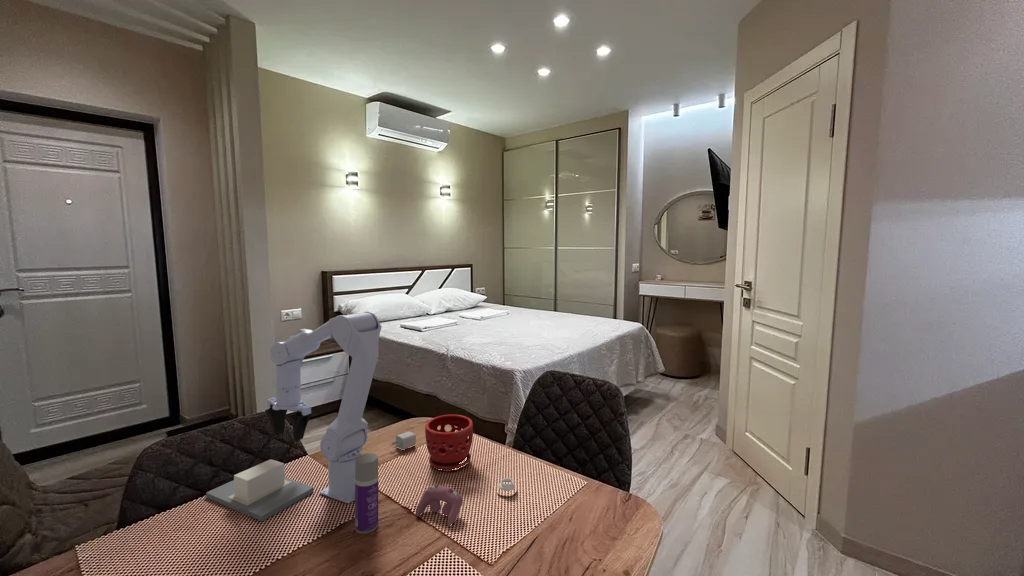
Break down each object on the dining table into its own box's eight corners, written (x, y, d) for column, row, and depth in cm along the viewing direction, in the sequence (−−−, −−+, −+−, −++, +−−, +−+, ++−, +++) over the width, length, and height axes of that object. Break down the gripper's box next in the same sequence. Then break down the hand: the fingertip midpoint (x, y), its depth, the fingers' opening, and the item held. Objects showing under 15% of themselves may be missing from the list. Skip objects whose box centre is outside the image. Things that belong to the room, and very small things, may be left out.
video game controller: (460, 525, 92) (467, 491, 95) (450, 527, 88) (458, 491, 91) (423, 514, 96) (431, 481, 98) (412, 515, 92) (420, 481, 95)
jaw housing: (284, 483, 102) (284, 463, 102) (248, 502, 94) (247, 480, 94) (271, 478, 104) (271, 459, 104) (234, 496, 96) (233, 475, 96)
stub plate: (313, 492, 101) (313, 480, 101) (261, 521, 89) (261, 508, 89) (260, 472, 110) (259, 461, 109) (206, 497, 98) (205, 485, 98)
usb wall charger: (415, 447, 127) (415, 434, 126) (395, 454, 122) (395, 441, 121) (408, 443, 129) (408, 430, 129) (388, 450, 124) (388, 437, 124)
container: (370, 535, 86) (371, 464, 85) (350, 531, 87) (350, 461, 86) (382, 521, 90) (382, 454, 90) (362, 518, 91) (362, 451, 90)
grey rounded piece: (515, 499, 100) (517, 488, 105) (516, 487, 100) (517, 477, 105) (495, 497, 101) (497, 486, 106) (495, 486, 101) (498, 475, 106)
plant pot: (433, 451, 124) (434, 412, 123) (476, 455, 122) (477, 415, 121) (417, 473, 111) (418, 429, 110) (465, 478, 109) (466, 433, 109)
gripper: (255, 386, 109) (256, 436, 110) (293, 394, 103) (294, 448, 103) (280, 379, 115) (281, 427, 116) (317, 387, 109) (318, 437, 110)
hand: (288, 436), depth 110 cm, fingers open, 7 cm apart
